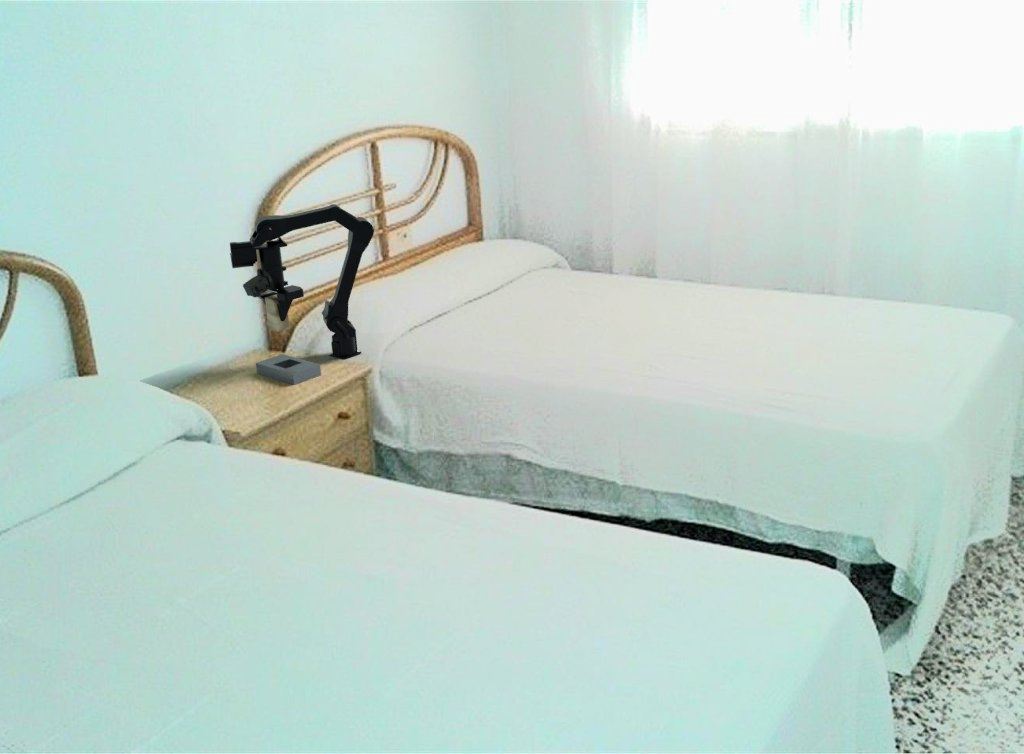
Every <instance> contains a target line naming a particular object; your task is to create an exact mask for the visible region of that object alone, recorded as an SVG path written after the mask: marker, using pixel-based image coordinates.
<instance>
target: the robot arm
mask: <svg viewBox="0 0 1024 754" xmlns="http://www.w3.org/2000/svg"><path fill="white" fill-rule="evenodd" d="M330 222H336V223H338V224H339V225H341V227H344V228H345V229H346V230H348V232H347V233H348V234H347V250H346V253H345V256H344V261H343V265H342V268H341V271H340V274H339V277H338V281H337V285H336V287H335V288H336V289H335V291H334V295H333V297H332V298H331V300H330V301H329V300H327V299H326V300H325V301H324V308H323V310H322V311H321V315H322V318H323V319H322V320H323V322H324V324H325V326H326V327H327V329H328V330H329V331H330V332H332V333H334V334H333V335H331V342H330V343H331V353H330V354H329V356H330V357H334V358H338V359H342V360H347V359H351V358H353V357H356V356H358V355H361V354H362V351H360V352H357V350H358V343H357V342H358V341H357V340H358V339H357V329H356V328H355V327H354V325H353V323H352V321H350V320H349V319H348V318H349V301H350V297H351V294H352V290H353V287H354V284H355V280H356V277H357V273H358V271H359V266H360V264H361V261H362V256H363V253H365V251H366V249H367V248H368V246H369V244H370V242H371V241H372V238H373V237H374V234H375V228H374V226H373V225H372V223H371V222H369V221H368V220H367V219H366V218H365V217H362V216H357V217H356V216H355V215H353V214H351V212H348V211H347V210H345V209H343V208H341V206H339V205H338V204H335V203H333V204H329V205H328V206H323V207H319V208H315V209H311V210H307V211H302V212H297V213H293V214H290V215H289V214H288V215H287V214H286V215H282V214H281V215H280V214H279V215H277V214H276V215H274V214H273V215H262V216H260V217H258V218H257V220H256V222H255V224H254V229H255V230H254V231H253V233H252V234H251V236H250V238H249V241H247V240H246V241H240V242H239V241H231V242H229V248H230V249H229V250H230V253H229V256H230V263H231V267H232V269H237V268H238V269H240V268H246V267H247V268H248V267H255V265H256V263H257V262H258V258H259V263H260V267H259V268H257V270H256V275H255V276H253V277H251V278H250V279H249V280H247V281H246V282H245V283H243V284H242V288H243V289H244V292H245V294H246V295H247V296H248V297H253V298H258V299H260V300H262V302H263V304H264V306H265V307H266V303H265V297H269V296H273V295H276V294H277V297H278V298H275V299H272V300H273V301H274V302H275V303H277V307H278V311H279V316H280V320H281V321H285V319H286V316H287V313H288V314H289V310H290V308H291V305H292V303H293V301H295V300H296V299H300V298H304V296H305V293H304V289H303V288H302V287H301V286H298V285H295V284H294V285H293V284H291V285H289V283H288V282H289V281H288V280H285V277H284V275H285V274H284V272H285V271H287V267H286V266H284V265H283V260H282V259H283V258H282V252H281V248H284V247H288V243H287V241H285V240H284V239H282V237H284V236H285V235H286V234H288V233H290V232H292V231H297V230H301V229H305V228H306V229H307V228H310V227H313V226H317V225H318V226H319V225H322V224H327V223H330ZM257 251H258V253H257ZM258 255H259V256H258ZM360 353H361V354H360Z"/></svg>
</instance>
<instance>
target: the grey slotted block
mask: <svg viewBox="0 0 1024 754" xmlns="http://www.w3.org/2000/svg"><path fill="white" fill-rule="evenodd" d="M255 367H256V368H255V369H256V374H258V375H261V376H264V377H268V378H271V379H275V380H277V381H280V382H284V383H286V384H291V385H297V384H301V383H303V382H306V381H308V380H311V378H312V379H314V378H313V377H315V376H317V377H319V376H318V375H320V374H321V375H322V370H321V364H319V363H316V362H312V361H308V360H305V359H301V358H298V357H295V356H290V355H289V354H284V353H282V354H279V355H276V356H275V355H274V356H272V357H270V358H267V359H263V360H259V361H258V362H255ZM321 375H320V376H321ZM315 378H316V377H315Z"/></svg>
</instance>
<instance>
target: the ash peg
mask: <svg viewBox="0 0 1024 754" xmlns="http://www.w3.org/2000/svg"><path fill="white" fill-rule="evenodd" d="M275 298H278V297H277V294H276V295H273V296H269V297H265V303H266V306H265V309H266V316H267V317H266V318H267V325H268V330H269V331H270V330H271V331H273V332H277V333H278V332H282V331H285V330H289V329H290V321H289V312H288V313H287V316H286V319H285V321H281V320H280V316H279V311H278V307H277V303H275V302H274V301H273V300H272V299H275Z"/></svg>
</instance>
